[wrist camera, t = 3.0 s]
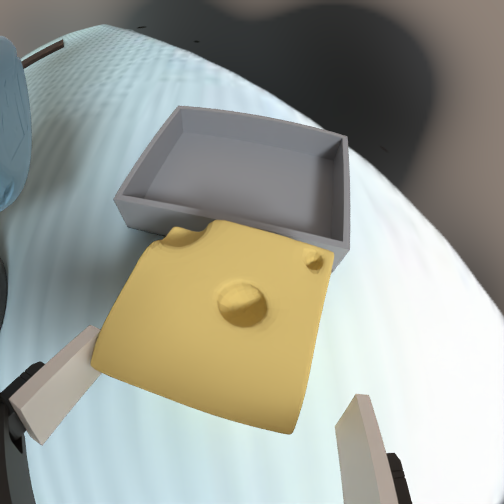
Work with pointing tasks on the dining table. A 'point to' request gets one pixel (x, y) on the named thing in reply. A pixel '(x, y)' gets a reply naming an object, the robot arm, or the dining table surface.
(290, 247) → the cheese
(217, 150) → the bin
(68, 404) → the robot arm
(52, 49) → the hardcover book
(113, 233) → the dining table surface
